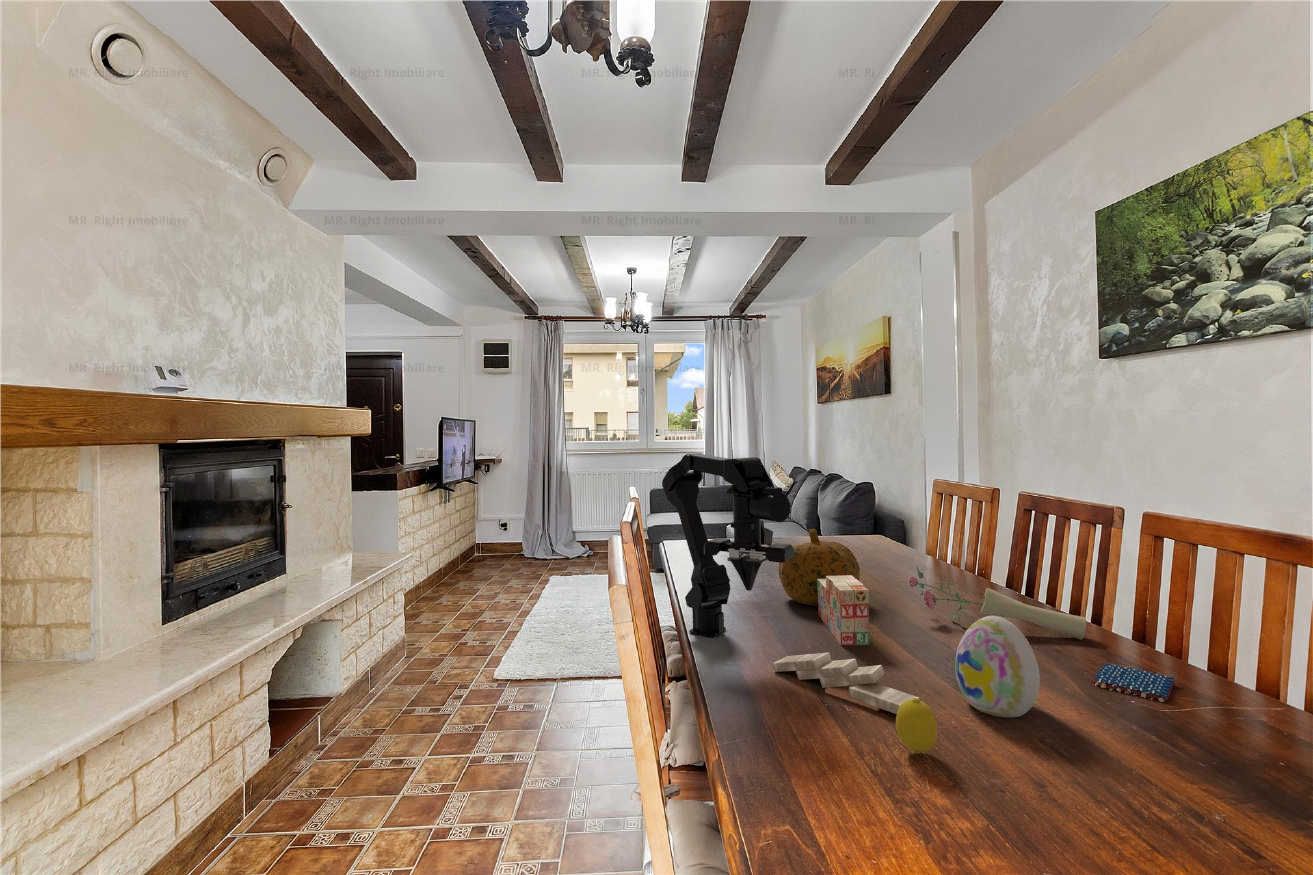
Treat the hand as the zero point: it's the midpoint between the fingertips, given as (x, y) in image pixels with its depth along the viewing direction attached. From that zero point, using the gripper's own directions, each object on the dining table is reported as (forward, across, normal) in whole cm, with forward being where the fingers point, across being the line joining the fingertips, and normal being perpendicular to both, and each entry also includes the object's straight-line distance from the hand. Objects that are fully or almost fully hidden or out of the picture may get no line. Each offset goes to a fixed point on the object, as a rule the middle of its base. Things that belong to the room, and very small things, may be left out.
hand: (749, 590), depth 128 cm
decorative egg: (+13, -46, +2) cm, 48 cm away
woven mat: (+14, -65, -19) cm, 69 cm away
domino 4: (+13, -21, +9) cm, 26 cm away
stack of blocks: (+13, -12, -23) cm, 29 cm away
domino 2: (+12, -14, +6) cm, 20 cm away
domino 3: (+12, -19, +8) cm, 24 cm away
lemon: (+13, -38, +24) cm, 47 cm away
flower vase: (+13, -41, -39) cm, 58 cm away
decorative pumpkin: (+13, 0, -42) cm, 44 cm away
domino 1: (+12, -9, +5) cm, 16 cm away
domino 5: (+12, -25, +10) cm, 30 cm away
